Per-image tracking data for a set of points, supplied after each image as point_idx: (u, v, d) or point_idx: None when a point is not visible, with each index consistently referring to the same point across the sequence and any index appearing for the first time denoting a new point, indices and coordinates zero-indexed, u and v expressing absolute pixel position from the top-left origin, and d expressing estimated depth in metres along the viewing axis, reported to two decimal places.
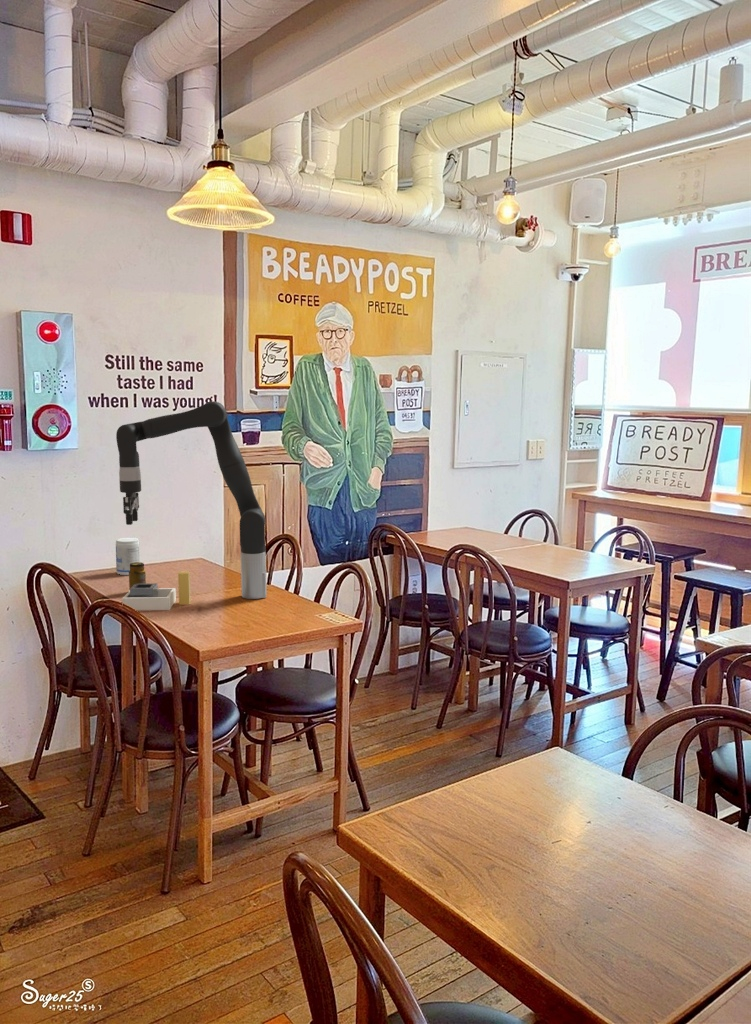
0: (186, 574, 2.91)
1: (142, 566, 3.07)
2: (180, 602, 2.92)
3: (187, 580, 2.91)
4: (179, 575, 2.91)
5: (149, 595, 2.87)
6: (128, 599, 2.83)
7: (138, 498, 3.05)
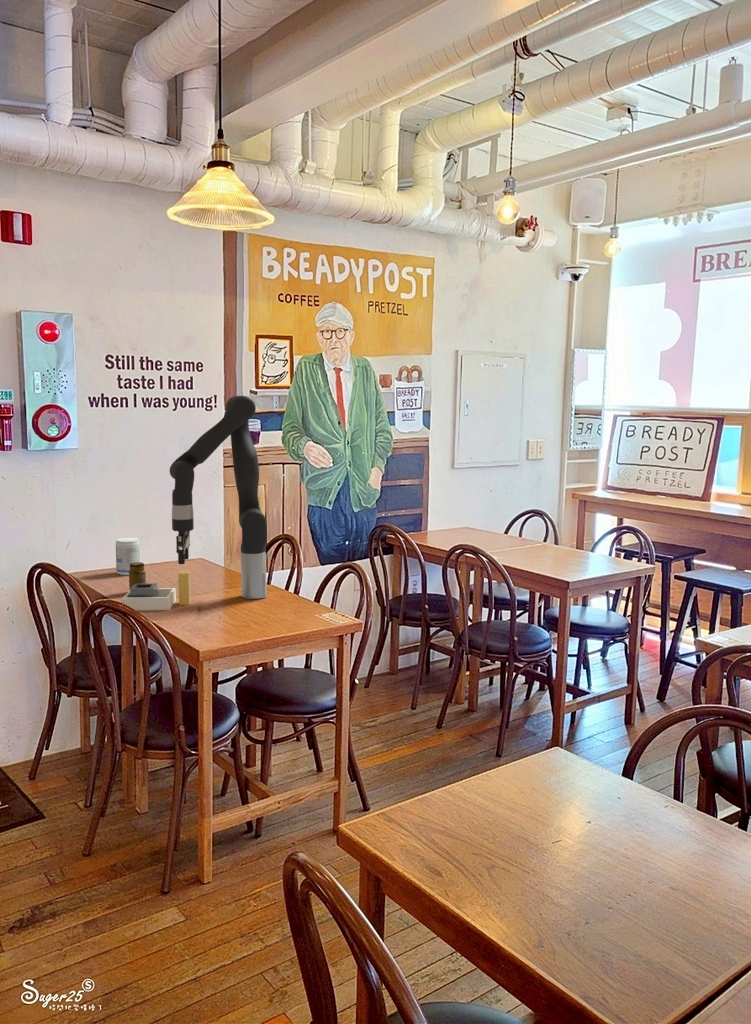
0: (186, 574, 2.91)
1: (142, 566, 3.07)
2: (180, 602, 2.92)
3: (187, 580, 2.91)
4: (179, 575, 2.91)
5: (149, 595, 2.87)
6: (128, 599, 2.83)
7: (189, 536, 2.98)
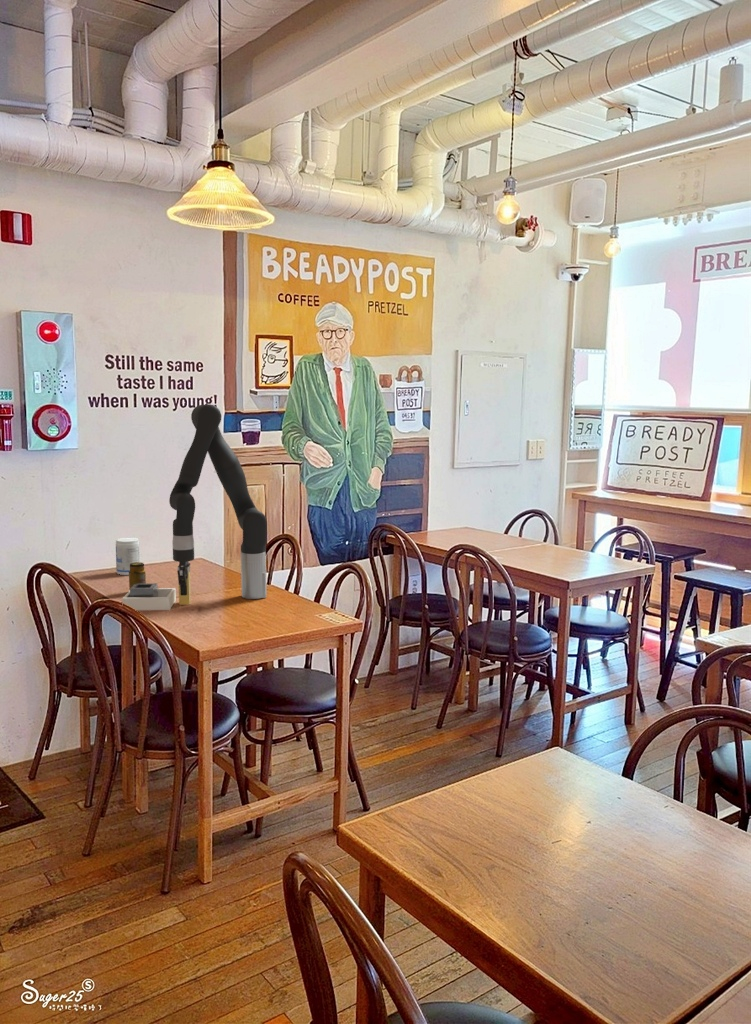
0: None
1: (142, 566, 3.07)
2: (180, 602, 2.92)
3: (187, 580, 2.91)
4: None
5: (149, 595, 2.87)
6: (128, 599, 2.83)
7: None
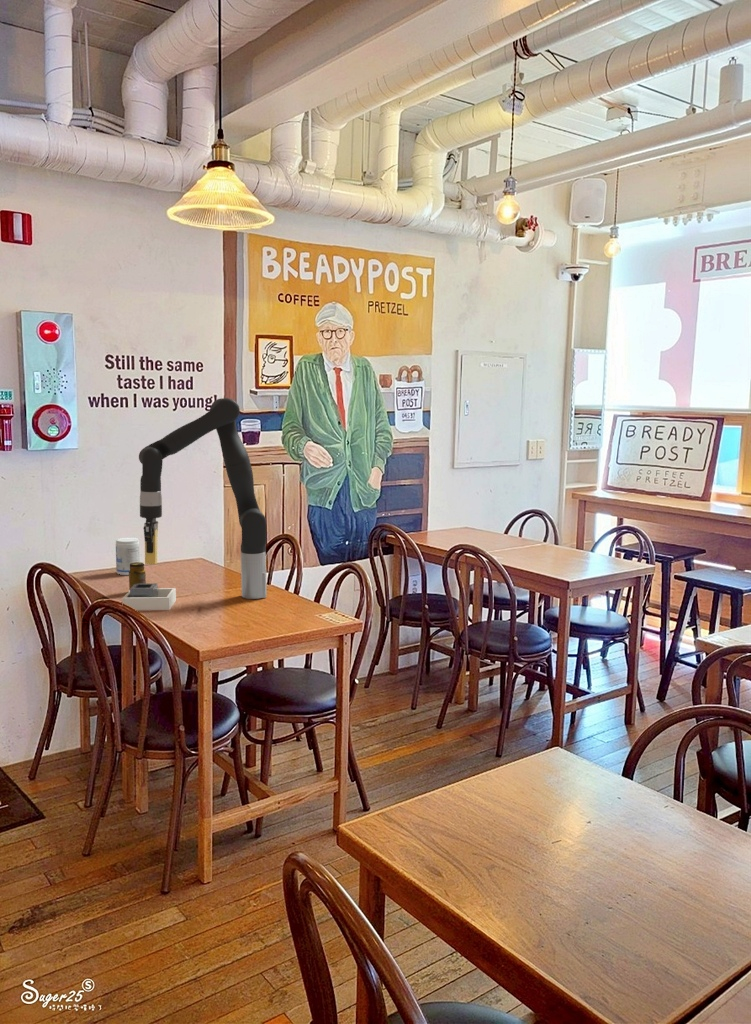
0: None
1: (142, 566, 3.07)
2: (146, 560, 2.87)
3: (154, 537, 2.87)
4: None
5: (149, 595, 2.87)
6: (128, 599, 2.83)
7: (157, 527, 2.94)
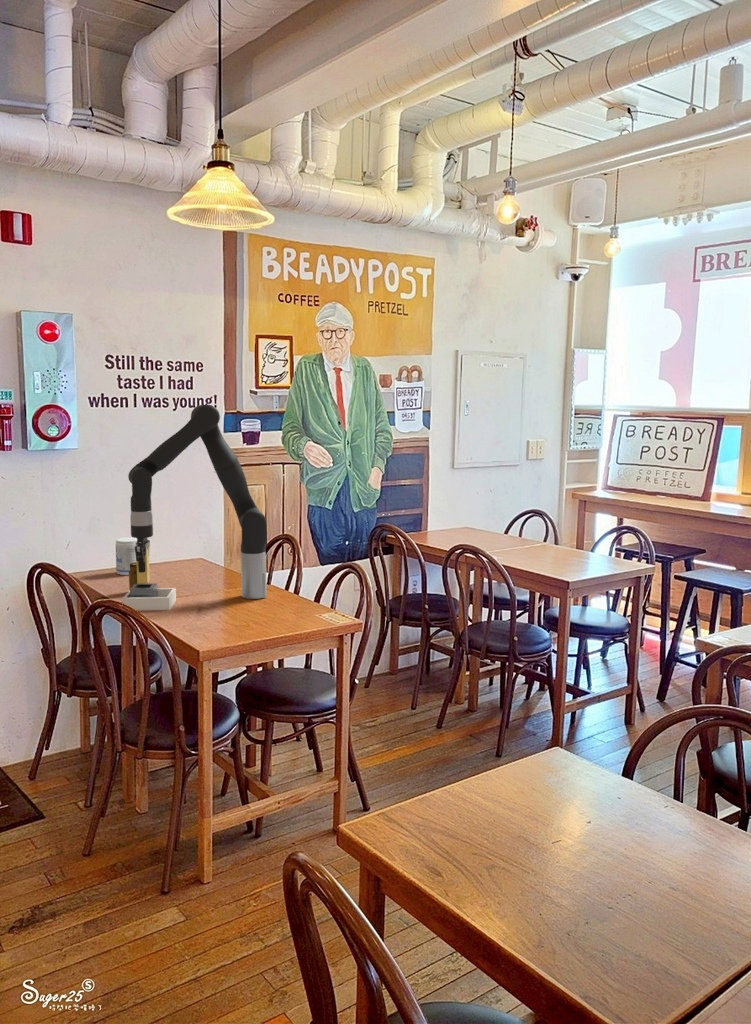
0: (144, 551, 2.87)
1: None
2: (138, 579, 2.88)
3: (145, 557, 2.87)
4: None
5: (149, 595, 2.87)
6: (128, 599, 2.83)
7: None
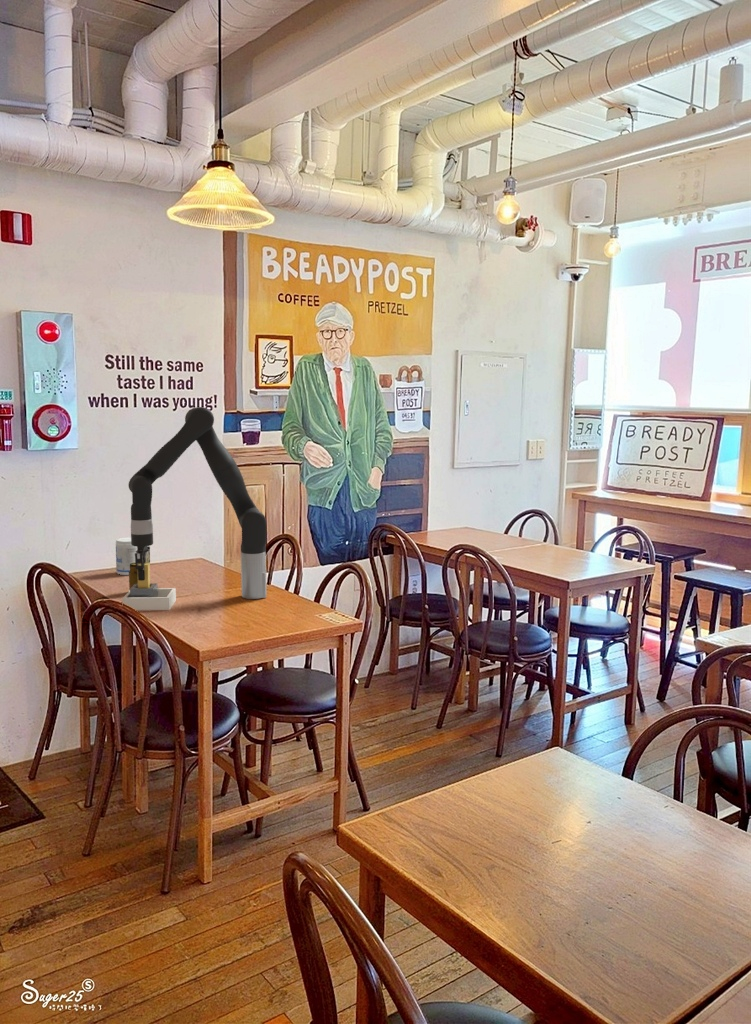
0: (146, 566, 2.88)
1: None
2: None
3: (146, 572, 2.88)
4: None
5: (149, 595, 2.87)
6: (128, 599, 2.83)
7: (149, 552, 2.95)
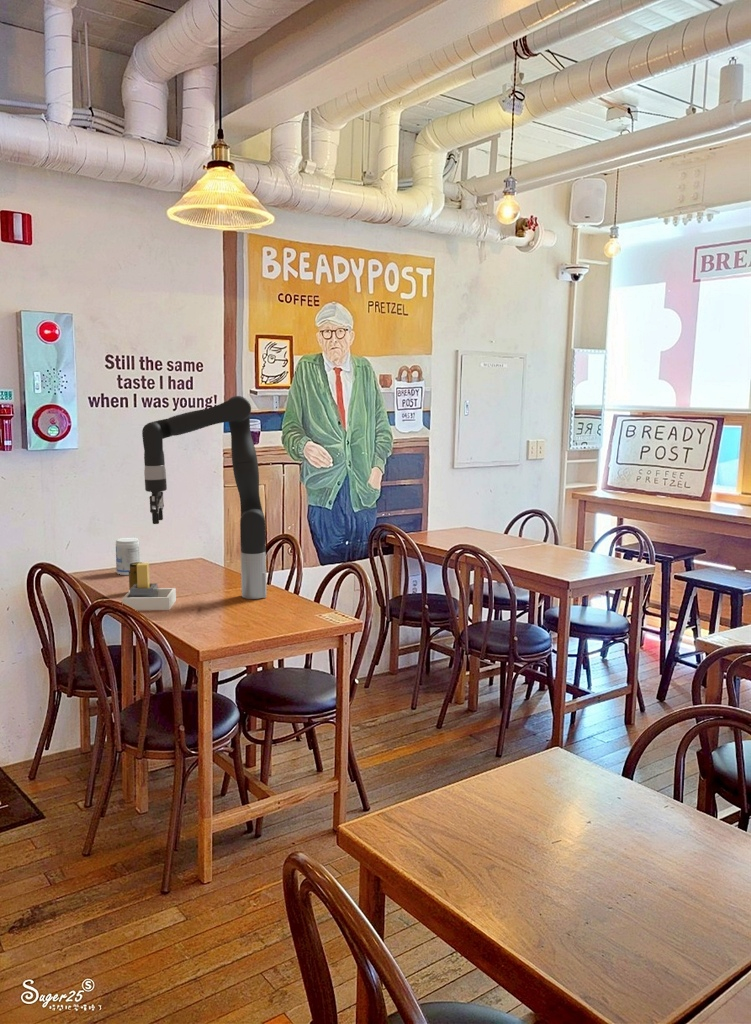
0: (145, 566, 2.88)
1: None
2: None
3: (146, 572, 2.88)
4: (138, 567, 2.87)
5: (149, 595, 2.87)
6: (128, 599, 2.83)
7: None
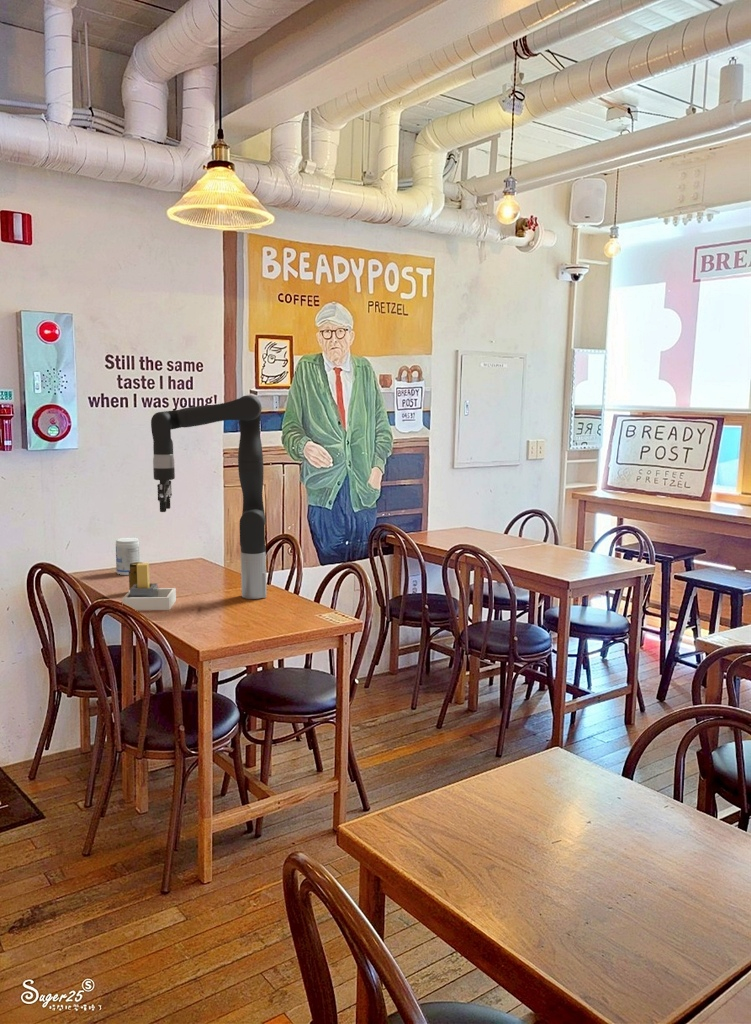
0: (145, 566, 2.88)
1: None
2: None
3: (146, 572, 2.88)
4: (138, 567, 2.87)
5: (149, 595, 2.87)
6: (128, 599, 2.83)
7: None
